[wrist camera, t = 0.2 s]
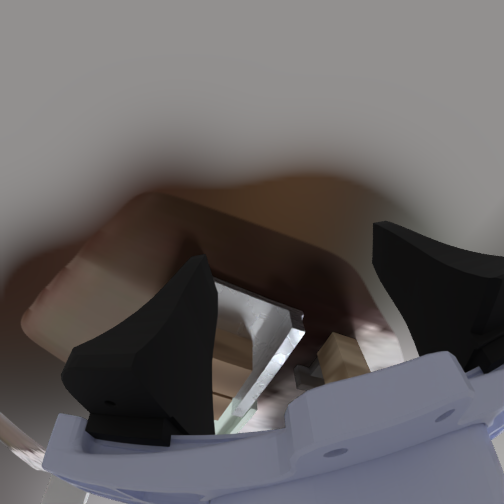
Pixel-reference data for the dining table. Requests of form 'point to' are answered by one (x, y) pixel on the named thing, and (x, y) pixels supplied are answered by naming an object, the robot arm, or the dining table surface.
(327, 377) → the tan block
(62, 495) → the milk
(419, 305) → the robot arm
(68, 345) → the dining table surface
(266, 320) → the silver metal tray
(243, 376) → the walnut block
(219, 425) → the tray
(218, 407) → the walnut block
